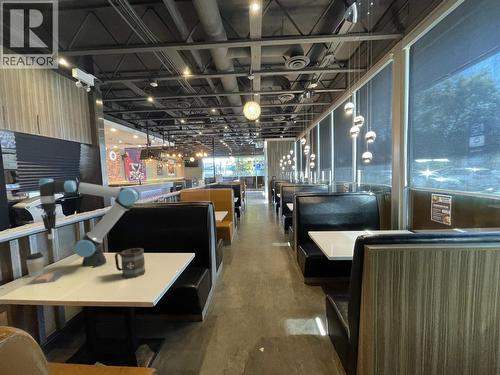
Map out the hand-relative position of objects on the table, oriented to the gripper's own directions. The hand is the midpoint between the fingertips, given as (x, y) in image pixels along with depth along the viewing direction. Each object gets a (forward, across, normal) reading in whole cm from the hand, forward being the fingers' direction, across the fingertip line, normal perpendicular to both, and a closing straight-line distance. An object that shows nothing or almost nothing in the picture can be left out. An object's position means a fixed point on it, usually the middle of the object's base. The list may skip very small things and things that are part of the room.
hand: (51, 238), depth 169 cm
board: (+24, +8, 0) cm, 26 cm away
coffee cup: (+25, -3, -12) cm, 27 cm away
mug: (+25, +15, +50) cm, 57 cm away
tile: (+22, +6, 0) cm, 23 cm away
